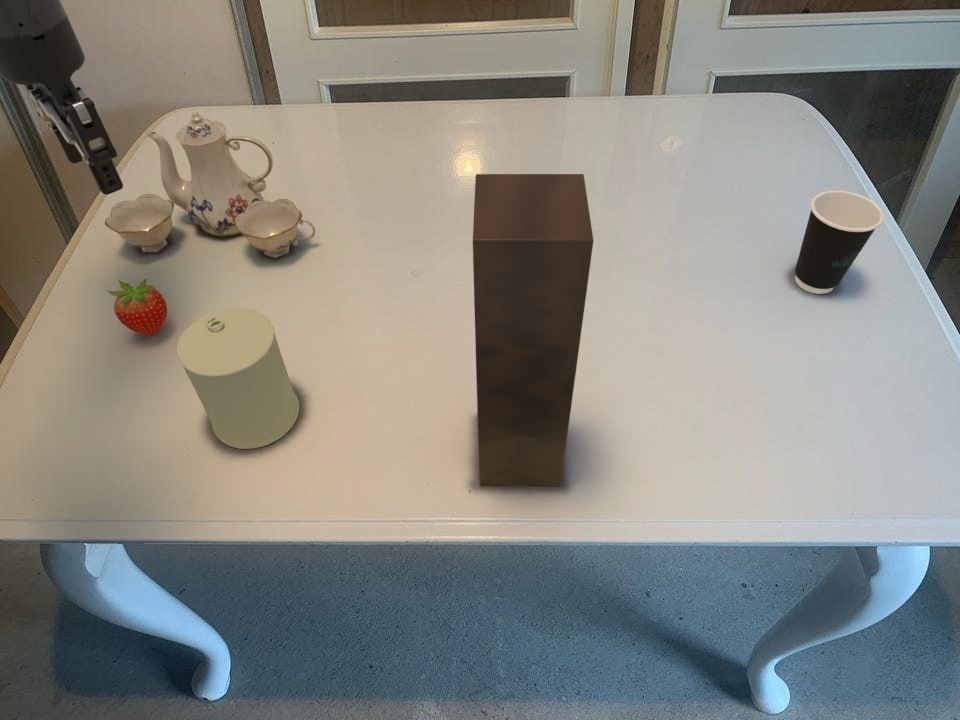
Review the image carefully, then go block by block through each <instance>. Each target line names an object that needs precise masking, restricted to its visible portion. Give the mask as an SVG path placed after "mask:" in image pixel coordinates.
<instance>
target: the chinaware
mask: <svg viewBox="0 0 960 720" xmlns="http://www.w3.org/2000/svg"><path fill="white" fill-rule="evenodd" d="M227 131H228V126H227V125H226V124H225V123H224V122H221V121H219V120H216V119H215V120H212V119H208V118H205V117H203V115H201V114H199V112H197V111H193V112H192V113H191V116H190V118H189V121H188V122H187V124H186V125H184V126H181V127H180V128H179V130H178V131H176V132H175V136H174V138H175V140H176V142H178V143H179V144H180V146H181V147H182V149H183V151H184V153H185V155H186V158H187V161H188V163H189V168H190V179H191V180H185V179H183V178H182V176H181V175H180V173H179V169H178V167H177V162H176V158H175V156H174V152H173V148H172V146H171V145H170V143H169V141H168V140H167V139H166V138H165V137H164V136H163V135H162V134H160V133H158V132H156V131H149V132H147V134H146V136H147V137H149V138H150V139H152V141H154V142H155V143H156V145H157V146H158V149H159V154H160V155H159V156H160V157H159V159H160V160H159V161H160V177H161V183H162V187H163V189H164V191H165V194H166V195H167V197H168V198H169V199H163V198H162V197H161V196H159V195H157V194H153V193H146V194H142V195H140V196H138V197H137V198H135V199H134V200H122V201H119V202H117V203H114V205H113V206H112V208H111V210H110V214H109V216H108V217H106V218H105V221H104V226H105V227H107V228H108V229H109V230H111V231H113V232H115V233H117V234H118V235H119V236H120V237H121V238H122V240H124V241H125V242H126V243H128V244H130V245H132V246H134V247H138V248H140V249H141V250H142V253H158V252H160V250H162V249H164V248H165V247H166V246H167V245H168V241H167V240H166V239H168V237H169V235H170V234H171V231H172V227H173V220H172V219H173V218H172V214H173V212H174V209H175V208H174V207H175V205H176V206H177V207H179V208H181V209H182V210H184V211H186V212H188V218H189V221H191V222H192V223H193V224H195V225H197V226H200V227H201V229H202V231H203V232H204V233H206V234H208V235H211V236H213V237H214V236H215V237H232V236H237V235H240V234H241V235H242V236H244V237H245V239H246V240H247V242H248V243H249V244H251V246H253V247H254V248H256V249H257V250H260V251H263V252H264V253H263V255H264V256H265V255H266V256H269V257H271V258H275V259H277V258H278V257H281V256H284V255H286V254H289V252H290V248H291V247H290V245H292V246H295V247H296V246H298V244H299V241H298V240H302V241H308V240H311V239H312V238H314V236H315V234H316V227H315V225H314V224H313V222H311V221H310V220H309V219H303V213H302V211H301V210H300V209H298V207H296V205H295V204H294V202H293V201H291V200H289V199H288V198H279V199H276V200H273V201H269V200H265V197H264V196H263V195H262V192H264V191H265V190H266V188H267V183H266V180H265V179H266V178H267V177H268V176H270V174H271V172H272V170H273V167H274V157H273V155H272V152H271V151H270V149H269V148H268V146H266V144H265V143H264V142H262V140H261V141H260V140H259V139H258V138H255V137H252V136H249V135H234V136H230V137H229V138H228V139H227V137H228V136H227ZM231 142H232V144H231ZM240 142H247V143H250V144H254V145H255V146H257V147H258V148H260V149H261V150H262V151H263V153H264V154H265V156H266V158H267V164H268V165H267V168H266V170H265V171H264V172H263V173H262V174H260V175H257V176H253V177H251V176H249V174H247V173H246V172H245V171H243V170H242V168H241V167H240V166H239V165H238V164H237V162H236V160H235V159H234V157H233V156H232V153H231V150H230V149H232V150H233V151H235V152H236V151H239V150H241V143H240ZM304 223H307V224H308V225H309V226H310V227H311V228H312V233H311V235H309V236H305V237H304V236H303V237H302V236H297V233H298V229H299V228H298V226H299V224H300V225H301V226H303V225H304Z"/></svg>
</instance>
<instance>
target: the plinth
mask: <svg viewBox="0 0 960 720" xmlns="http://www.w3.org/2000/svg"><path fill="white" fill-rule="evenodd" d="M585 180H586V179H585V175H584V173H476V174H475V181H474V201H473V203H474V204H473V226H472V261H473V262H472V266H473V267H472V269H473V303H474V306H473V307H474V339H475V377H476V413H477V414H476V415H477V445H478V446H477V450H478V485H479V486H491V487H492V486H493V487H494V486H499V487H500V486H501V487H502V486H504V487H505V486H508V487H561V485H562V477H563V472H564V471H563V470H564V463H565V457H566V450H567V449H566V448H567V442H568V434H569V426H570V419H571V410H572V404H573V395H574V389H575V381H576V373H577V366H578V360H579V352H580V346H581V345H580V344H581V336H582V330H583V329H582V328H583V322H584V315H585V307H586V299H587V292H588V286H589V285H588V284H589V277H590V269H591V261H592V255H593V248H594V235H593V227H592V222H591V214H590V213H591V212H590V207H589V201H588V200H589V199H588V195H587V187H586V181H585Z"/></svg>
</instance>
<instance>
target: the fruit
mask: <svg viewBox="0 0 960 720" xmlns="http://www.w3.org/2000/svg"><path fill="white" fill-rule="evenodd" d="M147 281H148V279H147V278H145V279H144V280H142V281H141V282H140V283H139V284H132V285H131V284H130V283H129V282H127V283H126V282H123V281H122V280H118V284H119V287H120V288H121V289H122V290H116V291H115V290H114V291H113V290H107V292H108V293H109V294H111V295H112V296H115V297H116V299H115V301H114V304H113V310H114V314H115V317H116V318H117V319H118V321H119V322H120V323H121V324H122V325H123V326H125V328H127V329H128V330H130V331H132V332H134V333H137V334H139V335H143V336H152V335H155V334H157V333H158V332H159V331H160V330H162V328H163V326H164V324H165V323H166V320H167V317H168V305H167V302H166V299H165V298H164V296H163V295H162V294H161V292H160V291H159V290H158V289H157V288H156V287H154V286H153V284H152V285H149V284H147Z"/></svg>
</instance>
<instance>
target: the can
mask: <svg viewBox="0 0 960 720" xmlns="http://www.w3.org/2000/svg"><path fill="white" fill-rule="evenodd" d="M176 355H177V359H178V362H179V363H180V365H181V366H182V368H183V370H184V371H185V373H186V375H187V377H188V379H189V381H190V383H191V384H192V387H193V388H194V390H195V393H196V394H197V397H198V398H199V401H200V402H201V404H202V407H203V409H204V411H205V412H206V415H207V417H208V419H209V421H210V423H211V427H212V431H213V433H214V435H215V436H216V438H217V439H218V440H219V441H221V443H223V444H225V445H226V446H228V447H230V448H235V449H240V450H250V449H251V450H253V449H258V448H262V447H266V446H268V445H270V444H272V443H275V442H276V441H278V440H280V439H281V438H283V437H284V436H286V435H287V434H288V432H289V431H290V430H291V429H292V428H293V426H294V425H295V424H296V422H297V419H298V417H299V413H300V401H299V398H298V396H297V394H296V393H295V390H294V388H293V385H292V382H291V380H290V377H289V374H288V371H287V368H286V365H285V361H284V358H283V355H282V352H281V349H280V346H279V343H278V340H277V337H276V333H275V327H274V325H273V323H272V321H271V320H270V319H269V318H268V317H267V316H266V315H265V314H263V313H262V312H259V311H257V310H255V309H250V308H244V307H231V308H225V309H220V310H216V311H213V312H210V313H208V314H206V315H203V316H202V317H199V318H198V319H197V320H195V321H194V322H193V323H192V324H191V325H189V326H188V327H187V328H186V329H185V330H184V332H183V333H182V335H181V336H180V338H179V340H178V342H177V346H176Z"/></svg>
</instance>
